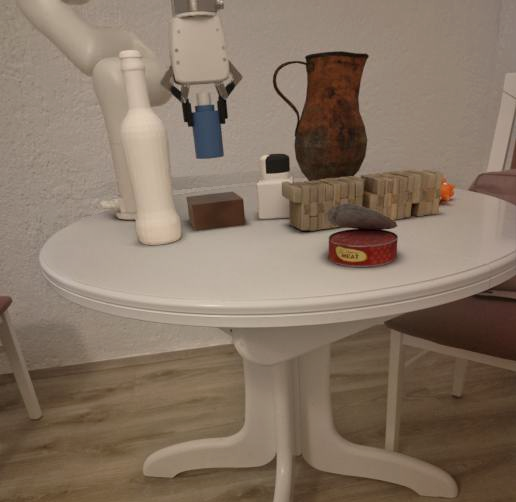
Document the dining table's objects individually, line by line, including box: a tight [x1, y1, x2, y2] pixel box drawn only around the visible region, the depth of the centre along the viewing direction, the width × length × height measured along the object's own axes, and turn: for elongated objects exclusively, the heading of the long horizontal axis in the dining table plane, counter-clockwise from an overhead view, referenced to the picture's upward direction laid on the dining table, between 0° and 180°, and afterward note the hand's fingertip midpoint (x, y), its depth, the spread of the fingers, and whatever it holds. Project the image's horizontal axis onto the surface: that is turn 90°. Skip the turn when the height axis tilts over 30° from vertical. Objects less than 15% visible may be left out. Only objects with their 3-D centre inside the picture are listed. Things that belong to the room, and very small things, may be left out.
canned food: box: [327, 203, 399, 268], centre depth 70 cm, size 11×10×10 cm
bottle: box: [119, 50, 182, 246], centre depth 82 cm, size 8×8×30 cm
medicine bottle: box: [256, 153, 295, 220], centre depth 98 cm, size 7×7×12 cm
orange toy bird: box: [440, 177, 456, 202], centre depth 102 cm, size 5×8×12 cm
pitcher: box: [272, 50, 370, 181], centre depth 111 cm, size 17×21×30 cm
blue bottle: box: [191, 92, 225, 160], centre depth 91 cm, size 5×5×11 cm
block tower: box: [282, 168, 444, 232], centre depth 91 cm, size 8×8×29 cm
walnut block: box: [186, 191, 246, 232], centre depth 98 cm, size 10×10×5 cm
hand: (206, 124), depth 90 cm, fingers closed on blue bottle, 5 cm apart
